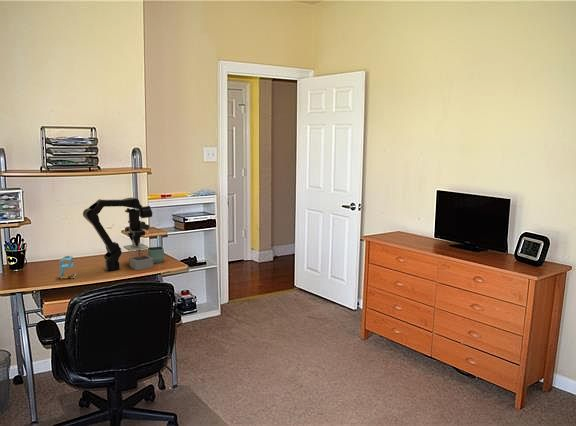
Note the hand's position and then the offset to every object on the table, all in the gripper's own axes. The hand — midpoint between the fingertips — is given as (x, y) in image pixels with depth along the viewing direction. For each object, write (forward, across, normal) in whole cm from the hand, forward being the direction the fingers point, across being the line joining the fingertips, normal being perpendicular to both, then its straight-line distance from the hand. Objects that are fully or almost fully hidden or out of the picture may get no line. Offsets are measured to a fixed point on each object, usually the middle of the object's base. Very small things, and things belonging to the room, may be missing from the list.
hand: (135, 245), depth 302 cm
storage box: (+12, -6, -1) cm, 14 cm away
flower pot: (+13, 0, -12) cm, 18 cm away
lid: (+2, 0, 0) cm, 2 cm away
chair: (+13, 0, +39) cm, 41 cm away
